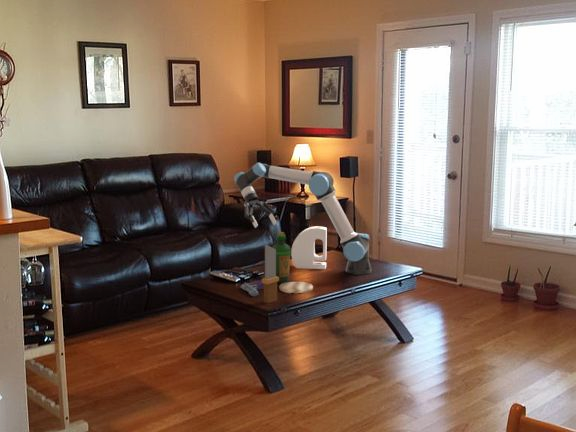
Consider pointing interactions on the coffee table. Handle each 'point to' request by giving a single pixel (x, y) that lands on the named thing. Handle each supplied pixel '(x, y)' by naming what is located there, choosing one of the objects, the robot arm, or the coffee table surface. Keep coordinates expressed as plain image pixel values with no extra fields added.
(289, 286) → the serving board
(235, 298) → the coffee table surface
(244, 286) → the toy gun
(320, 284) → the coffee table surface
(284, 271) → the bottle
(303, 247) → the bracket
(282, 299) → the coffee table surface
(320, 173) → the robot arm
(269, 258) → the knife
